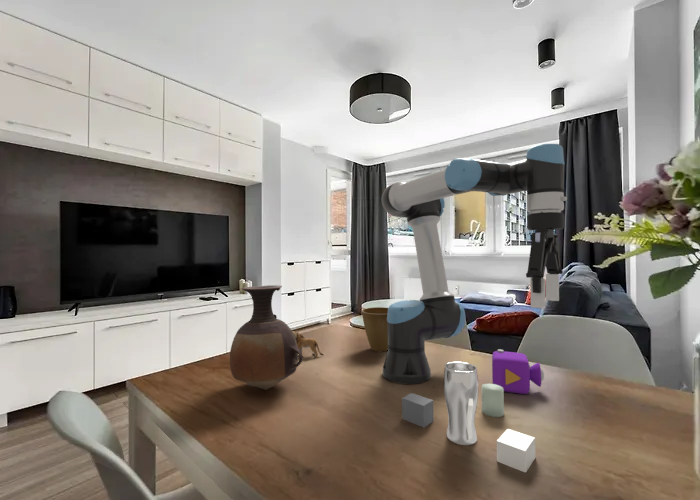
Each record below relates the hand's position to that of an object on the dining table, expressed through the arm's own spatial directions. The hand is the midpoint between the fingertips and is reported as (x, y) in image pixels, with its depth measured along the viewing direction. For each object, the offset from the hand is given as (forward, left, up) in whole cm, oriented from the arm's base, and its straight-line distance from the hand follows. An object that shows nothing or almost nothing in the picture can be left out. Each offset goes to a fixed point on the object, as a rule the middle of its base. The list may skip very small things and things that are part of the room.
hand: (545, 304), depth 79 cm
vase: (-65, -36, -27) cm, 79 cm away
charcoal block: (-22, -21, -27) cm, 40 cm away
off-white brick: (0, -21, -27) cm, 34 cm away
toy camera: (-12, +14, -27) cm, 33 cm away
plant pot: (-66, +18, -27) cm, 74 cm away
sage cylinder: (-11, -5, -27) cm, 29 cm away
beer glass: (-11, -21, -27) cm, 36 cm away
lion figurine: (-82, -8, -27) cm, 87 cm away
